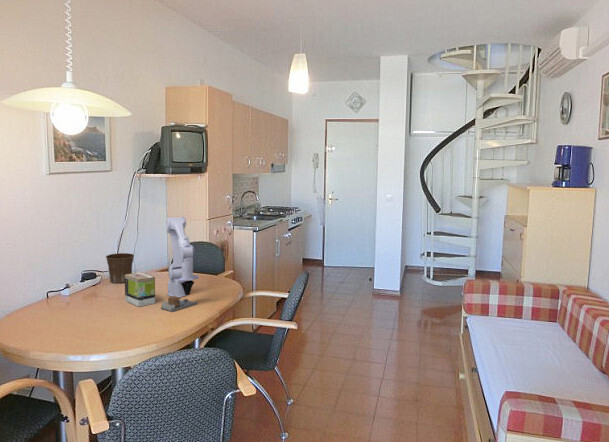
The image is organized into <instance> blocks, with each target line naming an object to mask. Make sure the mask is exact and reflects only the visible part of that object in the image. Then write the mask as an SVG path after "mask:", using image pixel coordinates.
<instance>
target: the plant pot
mask: <svg viewBox="0 0 609 442" xmlns="http://www.w3.org/2000/svg"><path fill="white" fill-rule="evenodd" d="M134 257H135V255H134V254H133V253H126V252H125V253H123V252H121V253H119V252H118V253H111V254H108V255H106V256H105V259H106V264H107V267H108V272H109V273H108V274H109V282H110V283H112V284H118V285H119V284H123V283H124V284H125V275H126V274H132V273H133V262H134Z"/></svg>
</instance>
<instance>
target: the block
mask: <svg viewBox="0 0 609 442" xmlns="http://www.w3.org/2000/svg"><path fill="white" fill-rule="evenodd" d="M179 299H180V297H176V296H169V297H167V302H169V303H172V304H175V308H176V307H179Z"/></svg>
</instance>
